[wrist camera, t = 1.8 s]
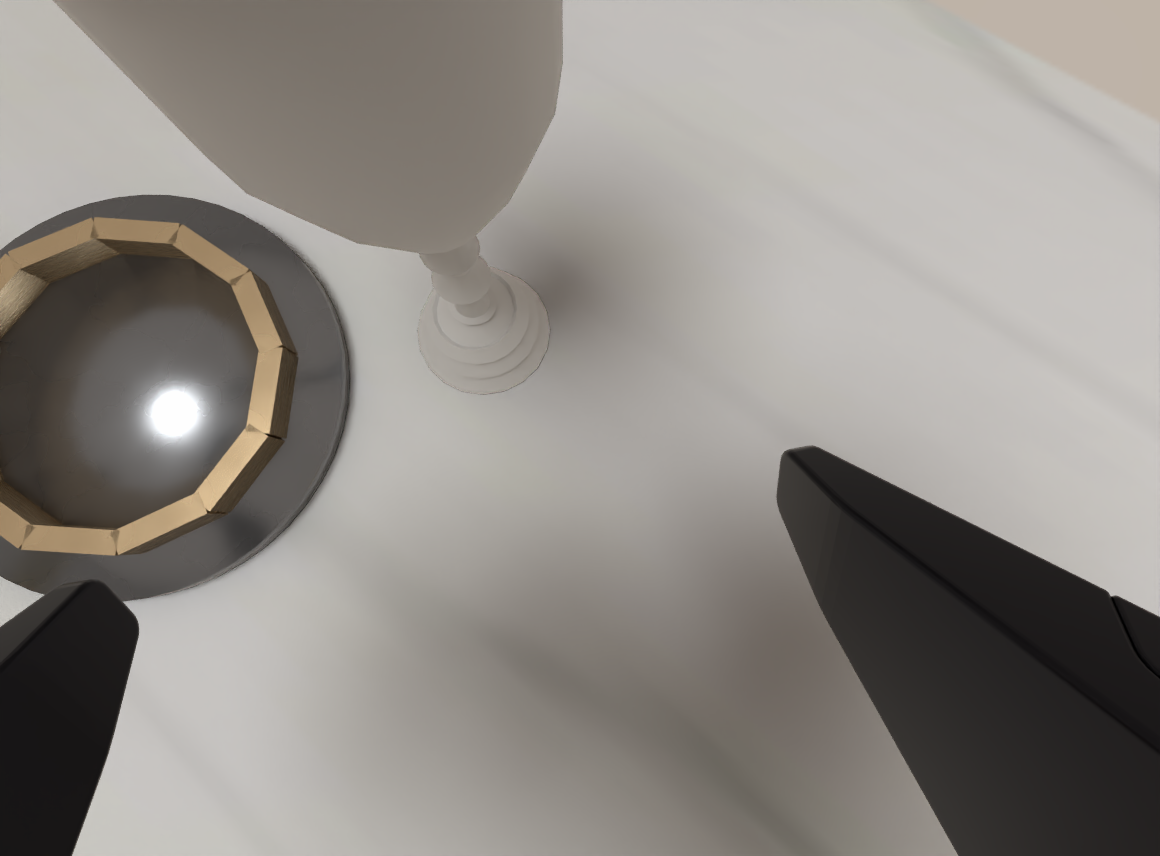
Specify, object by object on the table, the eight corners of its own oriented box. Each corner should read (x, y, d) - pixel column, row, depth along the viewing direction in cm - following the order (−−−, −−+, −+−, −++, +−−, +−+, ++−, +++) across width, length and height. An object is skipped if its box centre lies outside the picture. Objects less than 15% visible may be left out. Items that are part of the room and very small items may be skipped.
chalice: (600, 278, 23) (724, -603, 5) (547, 441, 22) (465, 61, 4) (423, 225, 23) (-69, -809, 5) (362, 384, 22) (-538, -234, 4)
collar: (170, 686, 20) (127, 704, 18) (-152, 445, 21) (-227, 437, 19) (429, 340, 22) (415, 322, 20) (125, 138, 23) (85, 102, 21)
